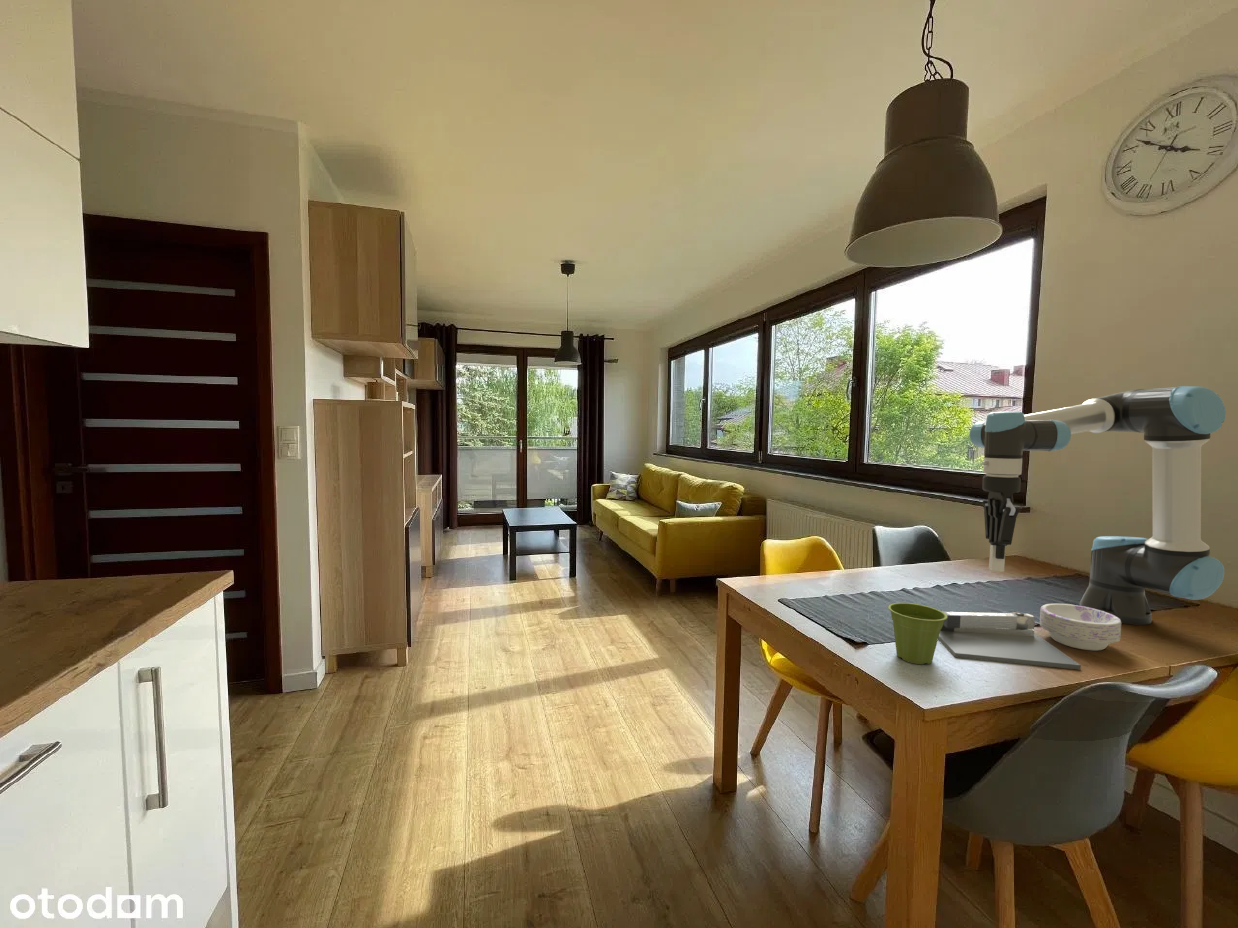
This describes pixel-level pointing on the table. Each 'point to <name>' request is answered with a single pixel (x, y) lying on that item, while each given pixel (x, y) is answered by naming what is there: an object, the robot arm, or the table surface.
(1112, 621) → the paper bowls
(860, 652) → the table surface
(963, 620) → the bar
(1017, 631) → the arm
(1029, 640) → the board
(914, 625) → the plant pot
